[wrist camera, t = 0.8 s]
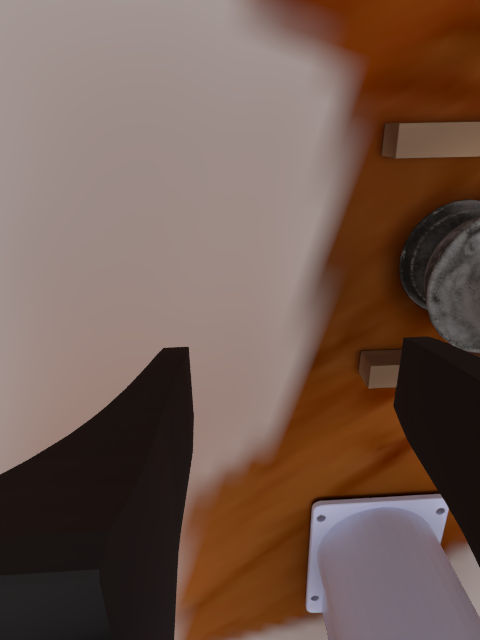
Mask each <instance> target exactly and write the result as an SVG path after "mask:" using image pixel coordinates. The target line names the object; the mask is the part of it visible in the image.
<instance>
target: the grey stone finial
mask: <svg viewBox="0 0 480 640" xmlns="http://www.w3.org/2000/svg"><path fill="white" fill-rule="evenodd" d="M400 278H401V282H402V285H403V288H404V290H405V291H406V293H407V294H408V296H409V298H410V299H412V300H413V301H414V302H415V303H416V304H418V305H419V306H420V307H422V308H424V309H426V310H428V313H429V317H430V321H431V322H432V324H433V326H434V327H435V329H436V330H437V332H438V334H439V335H440V336H442V337H443V338H444V339H445V340H446V341H448V342H449V343H450V344H451V345H452V346H455V347H457V348H460V349H462V350H465V351H467V352H475V353H480V201H477V200H471V199H470V200H462V201H454V202H452V203H449V204H447V205H444V206H442V207H439V208H437V209H436V210H435V211H433V212H432V213H430V214H429V215H427V216H426V217H424V218H423V220H422V221H421V222H420V223H419V224H418V225H417V226H416V227H415V228H414V229H413V231H412V232H411V234H410V236H409V237H408V239H407V241H406V243H405V244H404V248H403V251H402V254H401V258H400Z"/></svg>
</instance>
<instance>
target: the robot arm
mask: <svg viewBox="0 0 480 640" xmlns="http://www.w3.org/2000/svg"><path fill="white" fill-rule="evenodd" d="M394 409H395V411H396V414H397V416H398V419H399V421H400V424H401V426H402V428H403V431H404V433H405V435H406V438H407V440H408V442H409V443H410V445H411V447H412V448H413V450H414V452H415V453H416V455H417V457H418V458H419V460H420V462H421V463H422V465H423V467H424V468H425V470H426V472H427V473H428V475H429V477H430V478H431V480H432V481H433V483H434V485H435V486H436V488H437V490H438V491H439V493H440V494H429V495H412V496H395V497H377V498H360V499H343V500H326V501H317V502H316V503H314V504H313V506H312V512H311V527H310V543H309V558H308V573H307V589H306V609H307V611H308V612H311V613H320V612H323V617H324V621H325V626H326V630H327V635H328V639H329V640H480V617H479V616H478V614H477V612H476V610H475V608H474V606H473V605H472V603H471V601H470V599H469V597H468V595H467V593H466V591H465V590H464V588H463V586H462V584H461V582H460V580H459V578H458V577H457V575H456V573H455V571H454V569H453V567H452V566H451V564H450V562H449V560H448V558H447V556H446V554H445V553H444V551H443V549H442V547H441V545H440V544H441V540H442V536H443V531H444V527H445V523H446V519H447V514H448V510H449V509H450V511H451V512H452V514H453V516H454V517H455V519H456V521H457V523H458V525H459V526H460V528H461V530H462V532H463V534H464V536H465V538H466V540H467V542H468V544H469V546H470V548H471V550H472V552H473V554H474V556H475V558H476V561H477V563H478V565H479V567H480V357H478V356H476V355H473V354H471V353H469V352H466V351H464V350H462V349H460V348H457V347H455V346H452V345H450V344H448V343H445V342H442V341H440V340H437V339H434V338H430V337H411V338H404V339H403V346H402V353H401V359H400V366H399V373H398V379H397V386H396V393H395V400H394ZM193 423H194V413H193V400H192V387H191V373H190V360H189V347H175V348H163V349H162V350H161V351H160V352H159V353H158V354H157V355H156V357H155V358H154V359H153V360H152V361H151V362H150V363H149V365H148V366H147V367H146V368H145V369H144V370H143V371H142V372H141V373H140V374H139V375H138V376H137V377H136V379H135V380H134V381H133V382H132V383H131V384H130V385H129V386H128V387H127V388H126V389H125V390H124V391H123V392H122V393H120V394H119V395H118V396H117V397H116V398H115V399H114V400H113V401H112V402H111V403H110V404H109V405H107V406H106V407H105V408H104V409H103V410H102V411H100V412H99V413H98V414H97V415H95V416H94V417H93V418H92V419H90V420H89V421H87V422H86V423H85V424H83V425H82V426H81V427H79V428H78V429H76V430H75V431H74V432H72V433H71V434H69V435H68V436H66V437H65V438H63V439H62V440H60V441H58V442H57V443H55V444H53V445H52V446H50V447H48V448H47V449H45V450H44V451H42V452H40V453H39V454H37V455H36V456H34V457H32V458H30V459H29V460H27V461H25V462H23V463H22V464H19V465H18V466H16V467H14V468H12V469H10V470H8V471H6V472H4V473H2V474H0V640H174V629H175V607H176V587H177V568H178V551H179V542H180V533H181V526H182V520H183V513H184V507H185V500H186V493H187V487H188V480H189V473H190V467H191V460H192V453H193V425H194V424H193ZM320 515H322V516H320Z"/></svg>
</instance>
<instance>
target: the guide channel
mask: <svg viewBox="0 0 480 640" xmlns="http://www.w3.org/2000/svg"><path fill="white" fill-rule="evenodd" d="M382 156H386V157H391V158H433V157H474V156H480V121H478V122H429V123H385V129H384V138H383V148H382ZM464 351H465V350H464ZM466 352H467V351H466ZM401 353H402V349H394V350H370V351H361V355H360V365H359V373H360V375H361V377H362V379H363V380H364V382H365V384H366V385H367V387H368V388H389V387H396V386H397V379H398V373H399V366H400V359H401ZM469 353H471V354H473V355H476V356H478V357H480V353H475V352H469Z"/></svg>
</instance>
